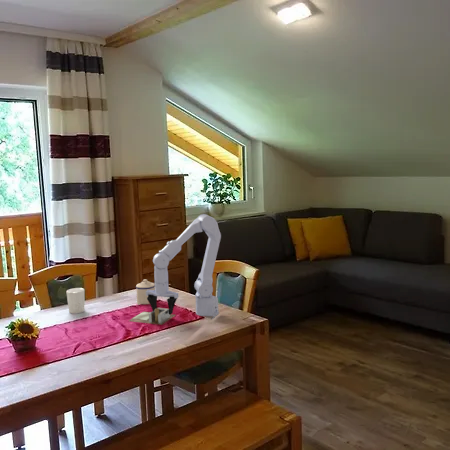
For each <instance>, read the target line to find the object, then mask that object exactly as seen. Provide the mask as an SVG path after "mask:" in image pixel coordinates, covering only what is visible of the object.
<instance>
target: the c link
mask: <svg viewBox="0 0 450 450" xmlns="http://www.w3.org/2000/svg"><path fill="white" fill-rule="evenodd" d="M157 308H158V309H159V314H158V324H157V325H159V324H162V323H163V322H165V321H166V320H168V319H169V318H170V314H169V308H165V307H157ZM149 312H150V313H149V323H148V324H150V323H153V322H154V321H155V310H154V311H153V310H152V311H149ZM168 321H169V320H168ZM165 323H166V322H165ZM162 325H163V324H162Z"/></svg>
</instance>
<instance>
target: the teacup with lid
mask: <svg viewBox="0 0 450 450" xmlns="http://www.w3.org/2000/svg"><path fill="white" fill-rule="evenodd" d="M135 289H136V304H137V305H138V306H139V305H150V303H149V301H148V300H147V297H148V296H146V291H147V290H155V282H151V281H148V279H143V280H142V281H141V282H140V283H137V284H136V286H135Z"/></svg>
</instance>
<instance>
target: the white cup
mask: <svg viewBox="0 0 450 450" xmlns="http://www.w3.org/2000/svg"><path fill="white" fill-rule="evenodd" d="M66 299H67V305H68V312H69V313H70V314H80V313H81V314H82V313H84V311H85V309H86V307H85V304H86V303H85V288H82V287H75V288H70V289H67V290H66Z"/></svg>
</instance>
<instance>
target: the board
mask: <svg viewBox="0 0 450 450" xmlns="http://www.w3.org/2000/svg"><path fill="white" fill-rule="evenodd" d="M158 308H159V307H157V309H155V321H154V322H153V323H149V313H150V312H151V311H142V312H141V313H139V314H137V315H135V316H134V317H132V318H131V319H129V320H128V322H133V323H134V322H135V323H143V324H153V325H164V324H166V323H167V322H168V321H170V320H171V319H173V318H174V317H176V314H173V313H172V314H171V315H170V318H169V319H168V320H166V321H165V322H163V323H162V324H158V314H159V309H158Z"/></svg>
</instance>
